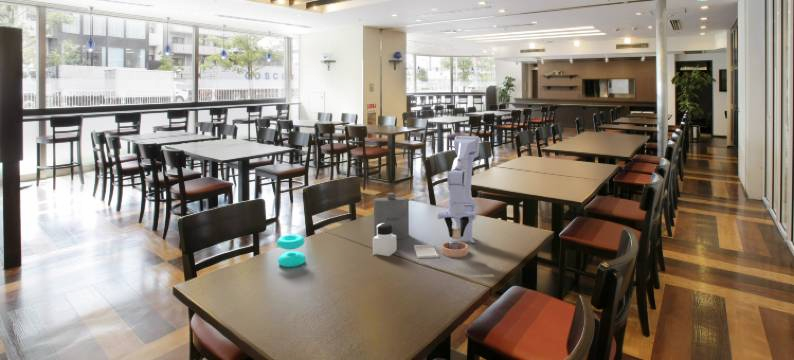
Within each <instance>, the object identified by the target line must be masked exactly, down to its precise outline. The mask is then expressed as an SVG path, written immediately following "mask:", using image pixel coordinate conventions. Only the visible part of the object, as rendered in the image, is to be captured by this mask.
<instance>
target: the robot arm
mask: <svg viewBox="0 0 794 360" xmlns="http://www.w3.org/2000/svg"><path fill="white" fill-rule="evenodd" d="M480 143H481V142H480V137H479V135H475V136H473V135H471V136H470V135H456V136H455V137H454V142H453V144H454V145H453V147H454V151H455V154H456V157H455V158H454V159H453V163H452V166H451V168H450V170H449V171H448V172H447V184H448V185H447V188H448V189H447V190H448V211H443V212H436V219H437V220H441V219H444V222H445V224H446V227H447V230H448V236H449V238H451V237H452V228H454V227H458V228H461V239H455V241H458V242H463V243H465V242H466V243H467V242H470V243H471V244H475V243H476V242H475V240H474V239H473V238H474V237H473V221H475V220H476V218H477V211H478V210H477V209H478V208H477V201H476V200H474V199H473V198H472V197H471V192H472V191H471V189H472V175H473V163H474V159H476V158H478V157H479V154H480ZM453 219H454V222H453ZM453 224H454V226H453Z"/></svg>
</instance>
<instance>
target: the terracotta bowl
mask: <svg viewBox="0 0 794 360" xmlns="http://www.w3.org/2000/svg"><path fill="white" fill-rule="evenodd" d="M440 246H441V248H440V251H441V253H442V255H444V256H446V257H451V258H462V257H465V256H467V255H468V253H469V245H468V244H467V243H465V242H463V241H458V250H452V249H449V241H445V242H443V243H442V244H441V245H440Z"/></svg>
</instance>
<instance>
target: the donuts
mask: <svg viewBox="0 0 794 360" xmlns="http://www.w3.org/2000/svg"><path fill="white" fill-rule="evenodd" d="M305 241H306V240H305V238H304V237H303V236H302V235H300V234H297V233H296V234H285V235H283V236H280V237H279V238H278V239H277V241H276V245H277V246H278V248H280V249H283V250H289V251H286V252H284V253H282V254H281V255H280V256H278V259H277V261H278V264H279V265H280V266H281V267H285V268H294V267H298V266H301V265H303V264H305V262H306V258H307V257H306V255H305V254H304V253H303V252H300V251H295V250H296V249H299V248H301V247H302V246H303V245H304V244H305ZM290 250H294V251H290Z"/></svg>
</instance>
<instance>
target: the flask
mask: <svg viewBox="0 0 794 360" xmlns="http://www.w3.org/2000/svg"><path fill="white" fill-rule="evenodd" d="M386 196H387V197H377V198H374V199H373V229H374V230H373V231H374V232H373V233H374V235H373V238H374V237H375V236H377V225H378V224H381V223H388V224H391V225H392V235H396V240H397V239H405V238H408V237H409V235H410V233H409V232H410V227H409V226H410V225H409V224H410V223H409V221H410V219H409V217H410V215H409V212H410V211H409V209H410V208H409V198H408V197H406V196H398V197H397V196H396V193H395V192H388V193H387V195H386Z"/></svg>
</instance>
